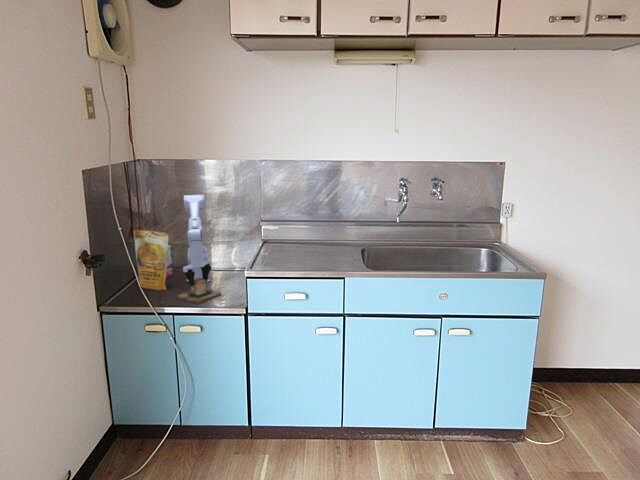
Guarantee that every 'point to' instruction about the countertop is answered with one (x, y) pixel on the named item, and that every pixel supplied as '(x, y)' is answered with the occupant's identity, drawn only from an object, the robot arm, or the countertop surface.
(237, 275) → the countertop surface
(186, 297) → the socket board
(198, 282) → the block stack
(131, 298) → the countertop surface
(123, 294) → the countertop surface
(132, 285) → the countertop surface
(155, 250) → the pancake mix bag
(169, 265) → the candy bar box
